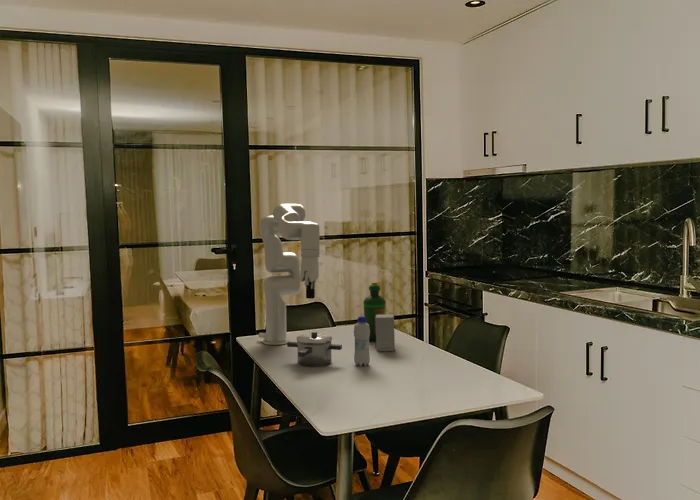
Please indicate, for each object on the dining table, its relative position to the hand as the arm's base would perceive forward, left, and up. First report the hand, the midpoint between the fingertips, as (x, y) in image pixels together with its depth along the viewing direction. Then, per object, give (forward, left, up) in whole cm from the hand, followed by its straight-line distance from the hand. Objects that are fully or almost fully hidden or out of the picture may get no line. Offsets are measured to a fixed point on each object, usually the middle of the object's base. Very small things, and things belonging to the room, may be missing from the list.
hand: (310, 298), depth 248 cm
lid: (+1, +2, -18) cm, 18 cm away
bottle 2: (+16, +48, -27) cm, 58 cm away
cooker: (+1, -2, -27) cm, 27 cm away
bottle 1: (+21, +3, -27) cm, 35 cm away
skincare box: (+25, +30, -28) cm, 48 cm away
